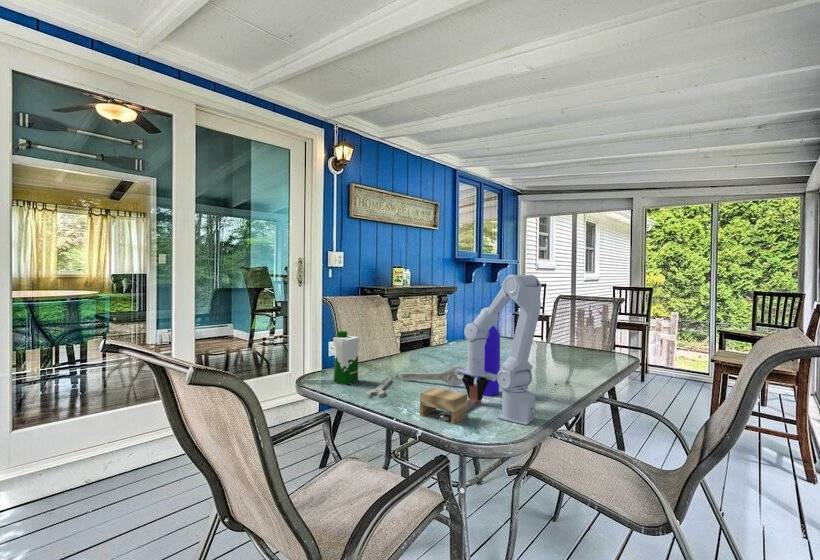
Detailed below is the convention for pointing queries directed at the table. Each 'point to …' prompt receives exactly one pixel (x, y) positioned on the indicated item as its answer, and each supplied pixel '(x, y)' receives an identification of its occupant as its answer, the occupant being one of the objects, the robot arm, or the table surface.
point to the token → (445, 416)
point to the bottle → (492, 360)
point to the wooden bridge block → (444, 403)
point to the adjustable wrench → (379, 389)
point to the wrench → (434, 376)
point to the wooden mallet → (472, 397)
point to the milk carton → (346, 358)
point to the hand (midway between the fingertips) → (475, 398)
